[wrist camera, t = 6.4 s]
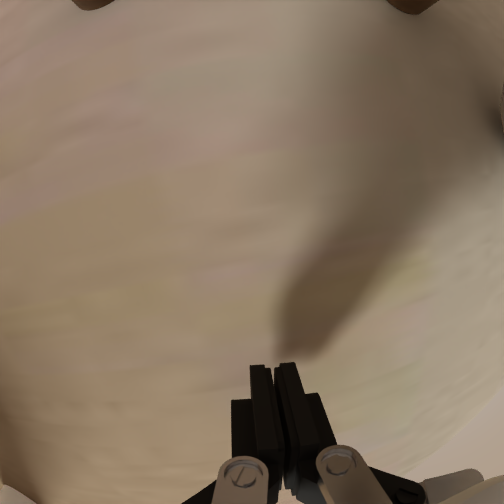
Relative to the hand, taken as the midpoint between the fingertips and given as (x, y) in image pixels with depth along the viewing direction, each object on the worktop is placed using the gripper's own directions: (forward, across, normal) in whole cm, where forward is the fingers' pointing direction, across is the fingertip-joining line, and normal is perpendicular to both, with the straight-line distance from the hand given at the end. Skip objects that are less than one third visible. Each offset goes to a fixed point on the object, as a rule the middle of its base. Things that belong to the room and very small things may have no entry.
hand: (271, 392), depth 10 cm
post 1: (+2, -7, -17) cm, 18 cm away
